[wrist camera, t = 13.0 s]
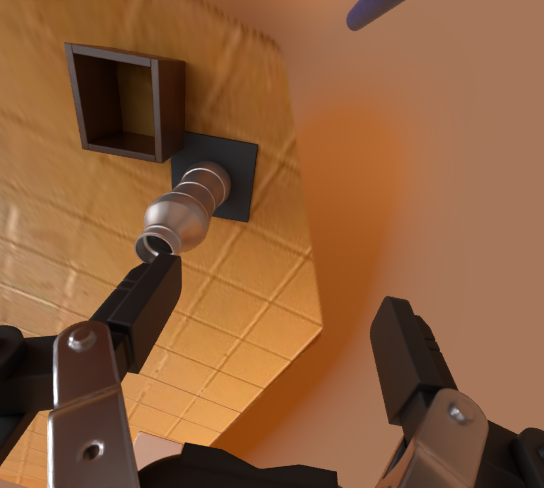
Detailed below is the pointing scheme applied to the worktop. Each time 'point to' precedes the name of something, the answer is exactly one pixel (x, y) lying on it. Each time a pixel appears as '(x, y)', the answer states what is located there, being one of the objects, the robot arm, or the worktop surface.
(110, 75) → the holder
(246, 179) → the mat
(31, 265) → the worktop surface
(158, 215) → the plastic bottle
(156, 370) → the worktop surface
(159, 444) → the gable box
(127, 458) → the robot arm
